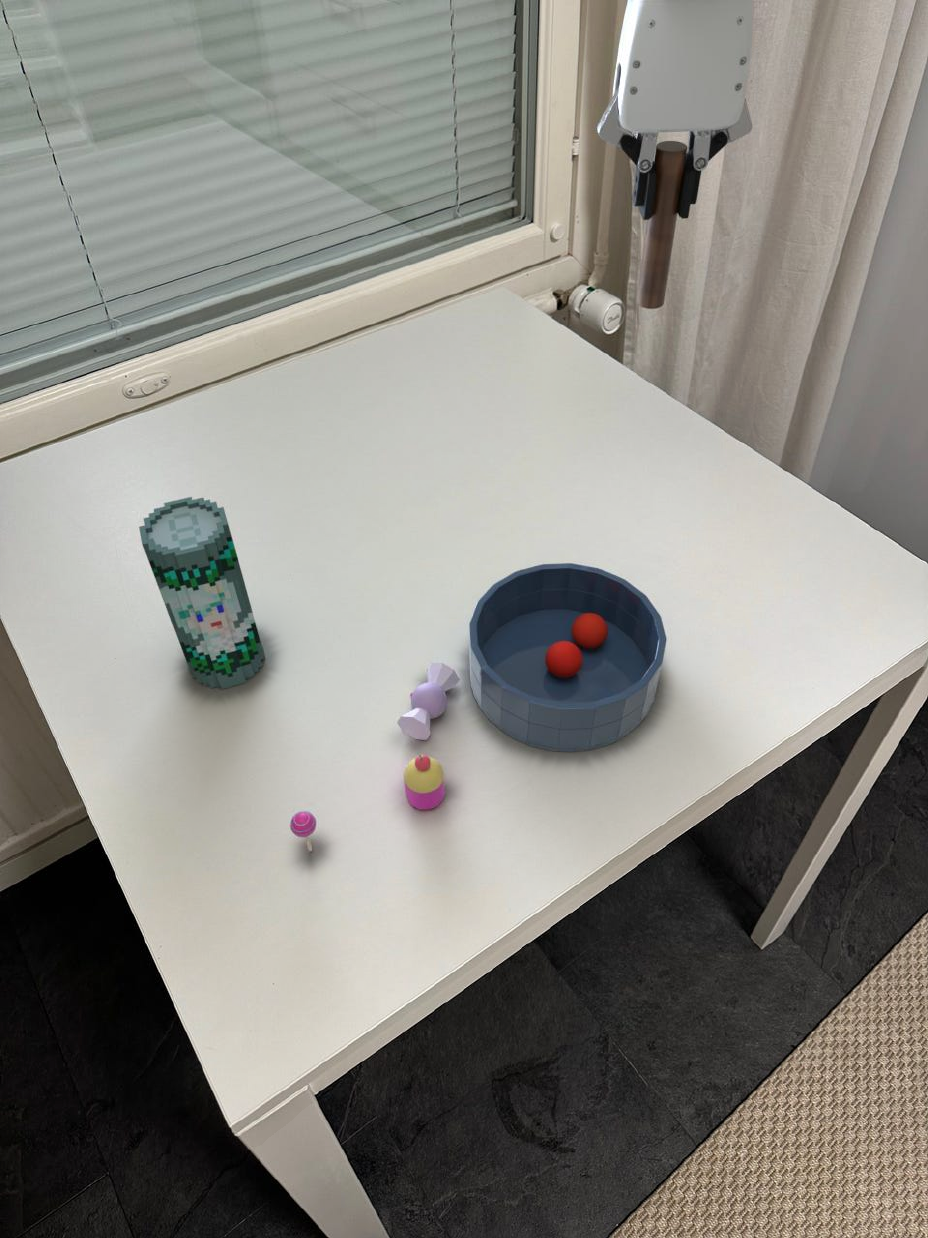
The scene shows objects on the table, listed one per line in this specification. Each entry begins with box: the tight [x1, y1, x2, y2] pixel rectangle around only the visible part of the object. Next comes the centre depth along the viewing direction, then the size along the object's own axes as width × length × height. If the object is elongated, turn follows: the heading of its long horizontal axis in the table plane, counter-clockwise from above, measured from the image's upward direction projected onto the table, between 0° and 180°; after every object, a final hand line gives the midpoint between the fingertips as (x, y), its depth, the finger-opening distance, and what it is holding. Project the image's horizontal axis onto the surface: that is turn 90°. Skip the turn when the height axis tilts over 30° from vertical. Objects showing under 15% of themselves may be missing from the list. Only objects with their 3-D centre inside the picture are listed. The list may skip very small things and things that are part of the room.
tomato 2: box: [572, 613, 608, 649], centre depth 74 cm, size 3×3×3 cm
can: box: [138, 496, 266, 690], centre depth 70 cm, size 6×6×15 cm
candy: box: [289, 662, 460, 852], centre depth 65 cm, size 18×8×6 cm, turn 157°
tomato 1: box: [545, 641, 583, 678], centre depth 72 cm, size 3×3×3 cm
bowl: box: [468, 562, 668, 753], centre depth 72 cm, size 15×15×6 cm
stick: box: [636, 140, 688, 310], centre depth 80 cm, size 3×3×14 cm
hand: (662, 210), depth 79 cm, fingers closed on stick, 2 cm apart
